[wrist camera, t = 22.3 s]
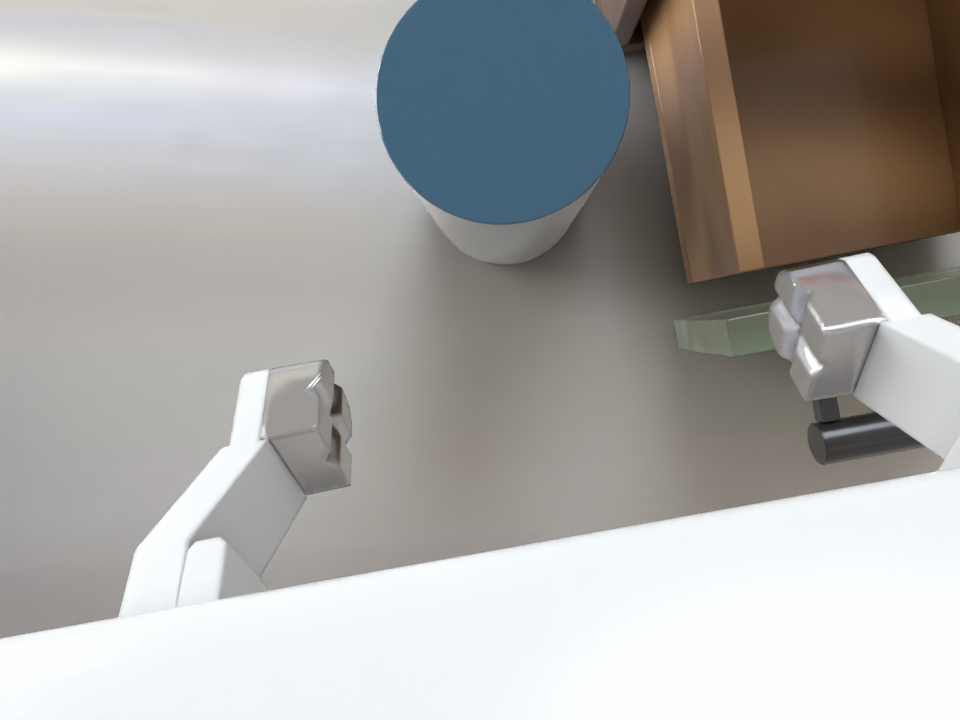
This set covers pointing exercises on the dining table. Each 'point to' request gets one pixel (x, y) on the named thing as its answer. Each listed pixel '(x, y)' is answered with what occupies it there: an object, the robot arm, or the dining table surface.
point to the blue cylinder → (502, 117)
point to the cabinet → (625, 21)
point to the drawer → (807, 155)
